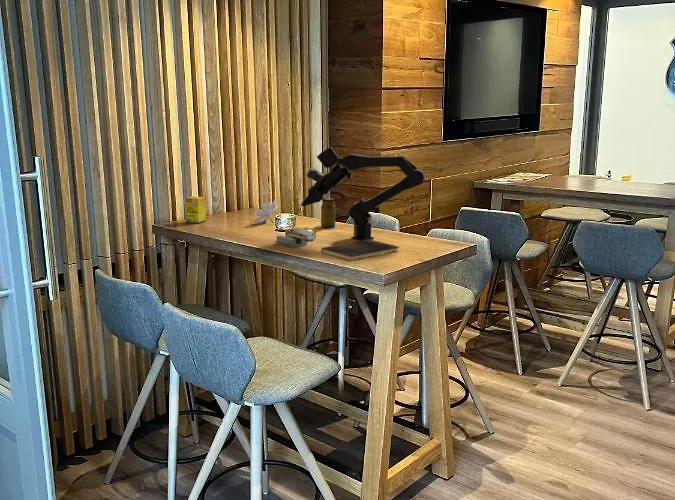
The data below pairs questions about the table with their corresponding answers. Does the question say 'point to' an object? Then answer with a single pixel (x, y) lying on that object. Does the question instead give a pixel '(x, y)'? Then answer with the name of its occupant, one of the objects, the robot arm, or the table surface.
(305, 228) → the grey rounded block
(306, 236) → the axle
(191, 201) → the supplement box
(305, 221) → the table surface
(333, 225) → the condiment
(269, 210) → the water lily
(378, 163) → the robot arm
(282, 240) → the v block
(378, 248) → the hardcover book
